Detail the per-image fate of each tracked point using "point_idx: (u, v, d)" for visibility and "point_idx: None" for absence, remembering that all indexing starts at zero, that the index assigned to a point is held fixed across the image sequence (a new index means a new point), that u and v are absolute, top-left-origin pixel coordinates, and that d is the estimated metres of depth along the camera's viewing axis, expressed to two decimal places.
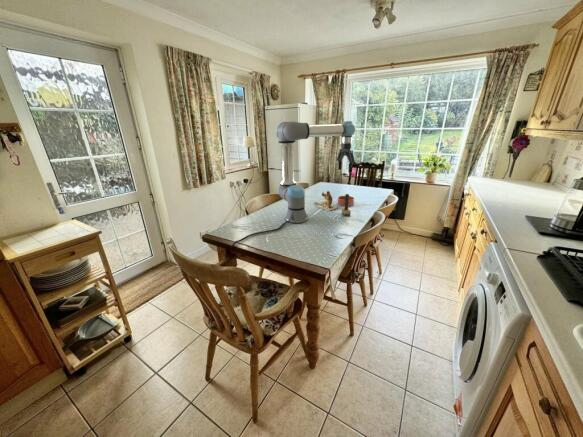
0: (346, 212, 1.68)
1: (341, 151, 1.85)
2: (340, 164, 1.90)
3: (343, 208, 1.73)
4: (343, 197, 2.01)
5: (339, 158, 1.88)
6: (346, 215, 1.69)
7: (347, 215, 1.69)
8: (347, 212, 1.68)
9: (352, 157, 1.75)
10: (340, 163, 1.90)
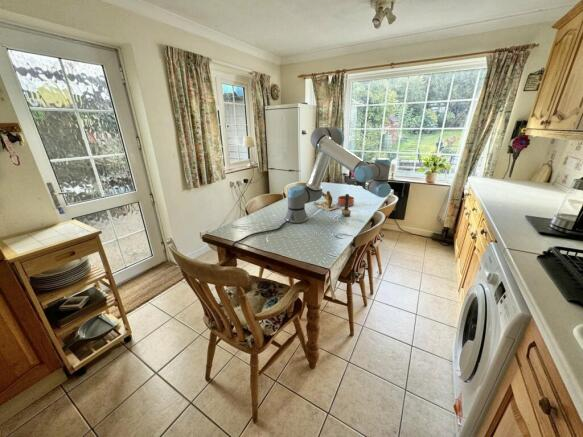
0: (346, 212, 1.68)
1: None
2: None
3: (343, 208, 1.73)
4: (343, 197, 2.01)
5: None
6: (346, 215, 1.69)
7: (347, 215, 1.69)
8: (347, 212, 1.68)
9: (349, 181, 1.41)
10: None
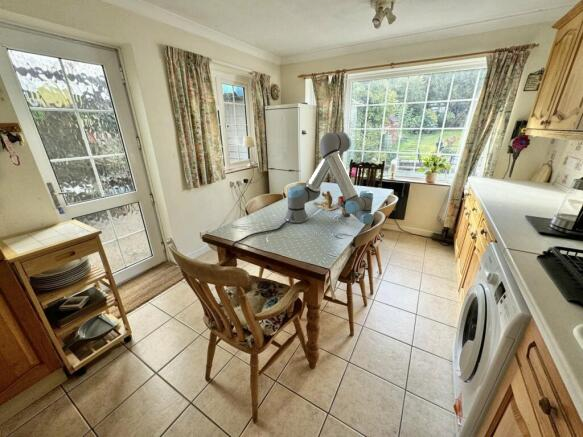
0: (346, 212, 1.68)
1: None
2: None
3: None
4: (343, 197, 2.01)
5: None
6: (346, 215, 1.69)
7: (347, 215, 1.69)
8: None
9: (342, 206, 1.63)
10: None
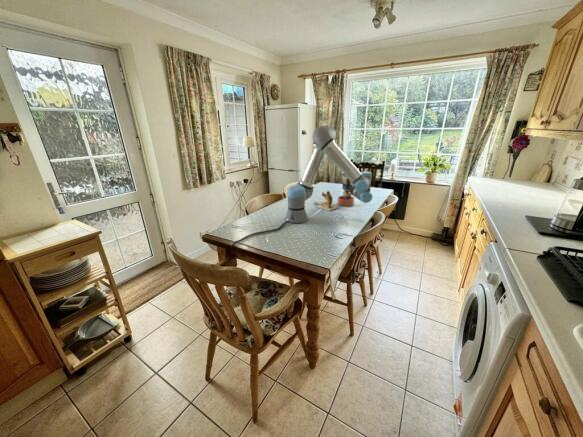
0: (347, 194, 1.80)
1: None
2: None
3: None
4: (343, 197, 2.01)
5: (352, 185, 1.77)
6: (347, 197, 1.81)
7: (348, 197, 1.81)
8: (348, 194, 1.80)
9: (343, 188, 1.74)
10: (349, 186, 1.81)
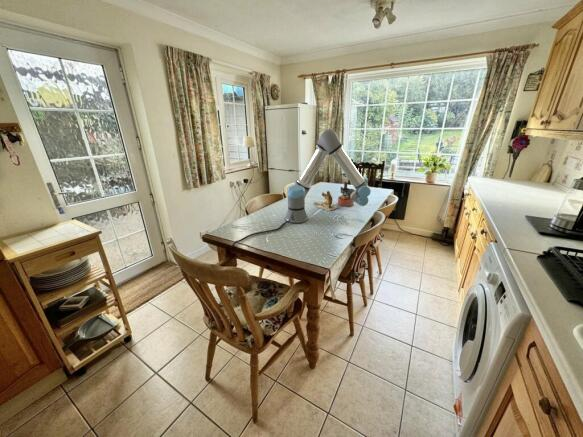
0: (345, 198, 1.92)
1: None
2: None
3: None
4: None
5: (350, 189, 1.89)
6: None
7: None
8: (346, 198, 1.92)
9: (341, 192, 1.86)
10: None
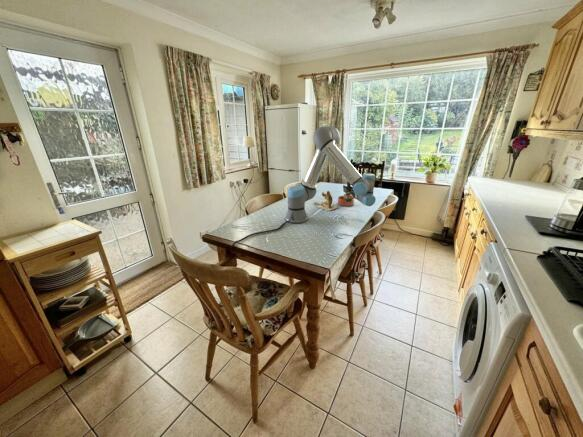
0: (348, 197, 1.73)
1: None
2: None
3: (345, 194, 1.78)
4: (343, 197, 2.01)
5: None
6: (348, 200, 1.75)
7: (349, 200, 1.75)
8: (349, 197, 1.74)
9: (344, 190, 1.68)
10: None
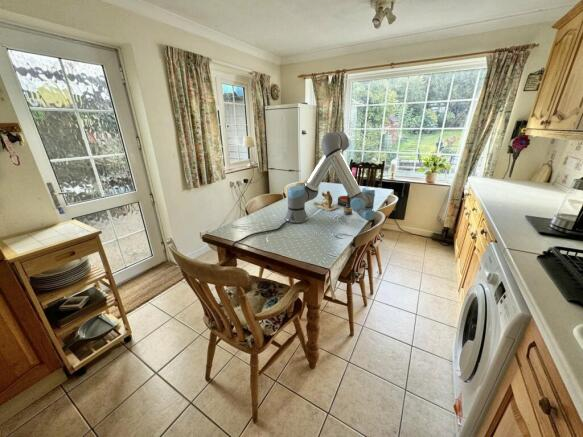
0: (348, 210, 1.72)
1: None
2: None
3: None
4: (343, 197, 2.01)
5: None
6: (348, 213, 1.73)
7: (349, 213, 1.73)
8: (349, 210, 1.72)
9: (341, 204, 1.64)
10: None
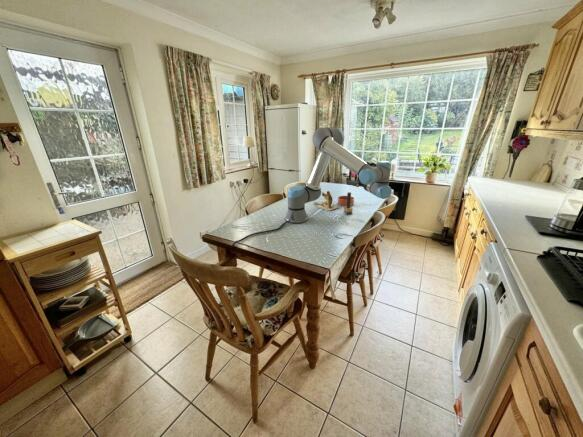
0: (348, 210, 1.72)
1: None
2: None
3: (345, 206, 1.77)
4: (343, 197, 2.01)
5: None
6: (348, 213, 1.73)
7: (349, 213, 1.73)
8: (349, 210, 1.72)
9: (351, 183, 1.45)
10: None
